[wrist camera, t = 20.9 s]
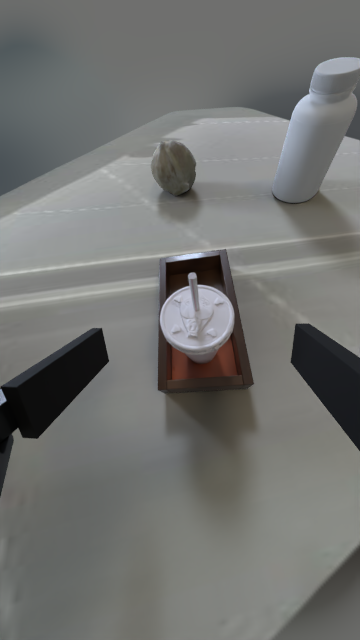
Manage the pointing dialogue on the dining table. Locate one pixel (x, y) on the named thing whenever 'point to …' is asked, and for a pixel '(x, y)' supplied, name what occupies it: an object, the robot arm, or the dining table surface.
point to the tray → (231, 357)
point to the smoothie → (197, 320)
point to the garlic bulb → (173, 167)
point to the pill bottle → (317, 130)
